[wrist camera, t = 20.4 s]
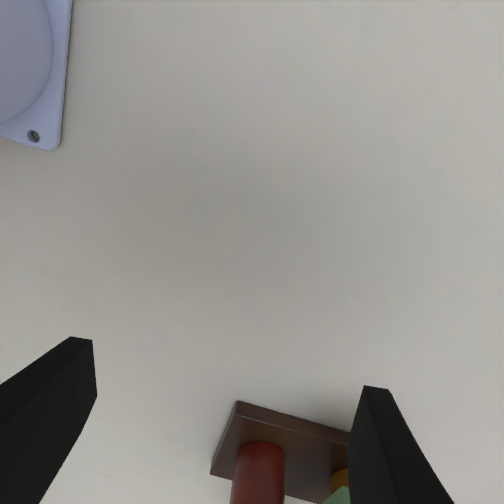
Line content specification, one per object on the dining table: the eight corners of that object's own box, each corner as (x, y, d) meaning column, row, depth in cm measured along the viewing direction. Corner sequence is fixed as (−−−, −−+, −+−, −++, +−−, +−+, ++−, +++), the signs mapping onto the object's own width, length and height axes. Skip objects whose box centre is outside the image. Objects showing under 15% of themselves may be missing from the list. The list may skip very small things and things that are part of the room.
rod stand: (211, 460, 30) (193, 559, 25) (236, 400, 27) (221, 497, 22) (369, 504, 31) (383, 608, 26) (411, 450, 28) (435, 555, 23)
